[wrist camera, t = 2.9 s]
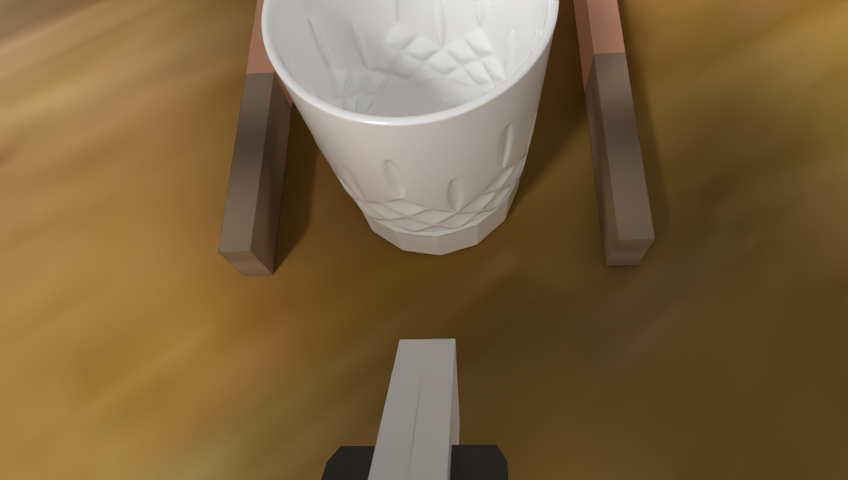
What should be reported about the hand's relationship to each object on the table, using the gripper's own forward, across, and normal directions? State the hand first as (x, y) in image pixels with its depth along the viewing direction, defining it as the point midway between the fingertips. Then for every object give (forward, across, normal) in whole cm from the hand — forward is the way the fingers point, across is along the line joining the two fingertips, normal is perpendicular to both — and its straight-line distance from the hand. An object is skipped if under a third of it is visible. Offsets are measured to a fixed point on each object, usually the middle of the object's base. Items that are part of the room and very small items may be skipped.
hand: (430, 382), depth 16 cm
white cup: (+10, 0, +3) cm, 11 cm away
